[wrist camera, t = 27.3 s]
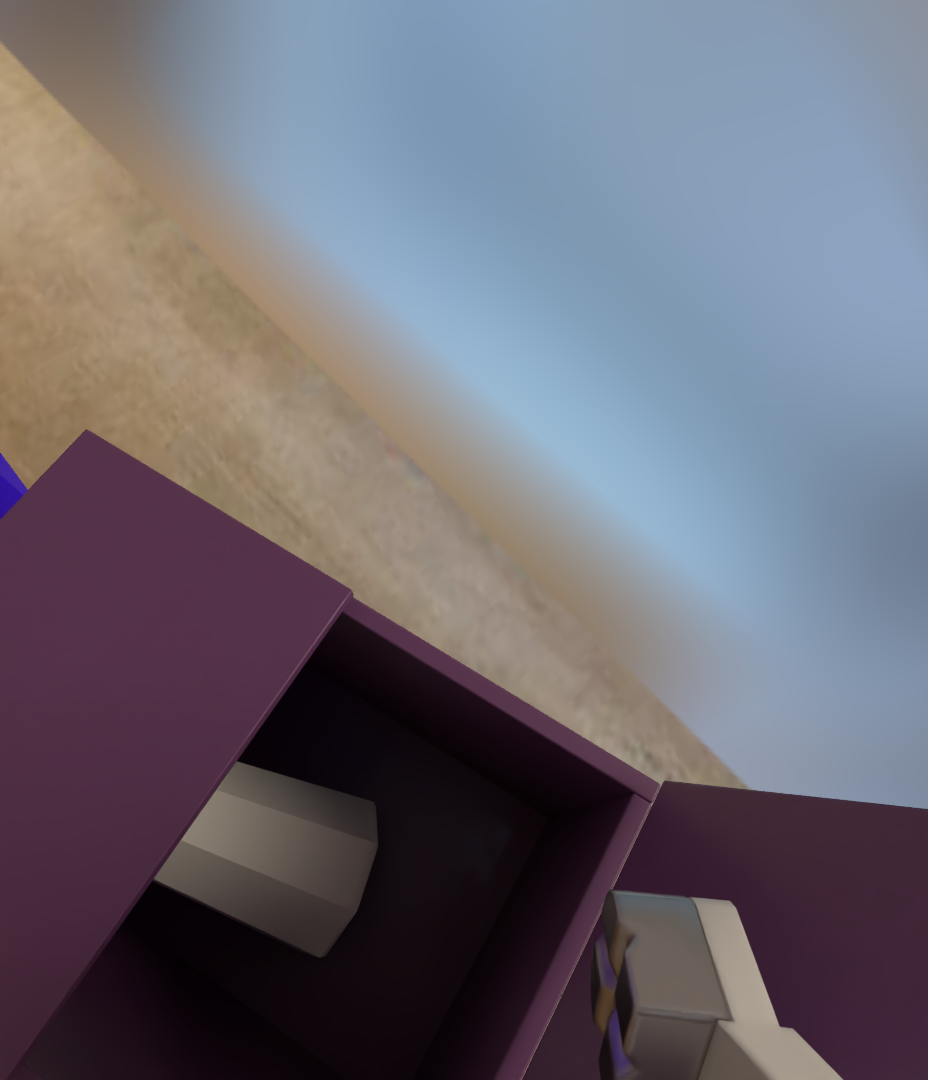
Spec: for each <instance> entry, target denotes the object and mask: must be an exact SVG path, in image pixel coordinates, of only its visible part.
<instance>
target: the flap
mask: <svg viewBox="0 0 928 1080" xmlns="http://www.w3.org/2000/svg"><path fill="white" fill-rule="evenodd" d="M612 890H622V891H633V892H644V893H654V894H665V895H675V896H685V897H687V898H689V897H695V898H706V899H716V900H726V901H730V902H731V903H732V904H733V905H734V906H735V907H736V909H737V912H738V914H739V917H740V920H741V923H742V925H743V928H744V931H745V934H746V936H747V939H748V942H749V944H750V947H751V950H752V953H753V955H754V958H755V961H756V963H757V966H758V969H759V972H760V974H761V977H762V980H763V982H764V985H765V988H766V991H767V993H768V996H769V999H770V1002H771V1004H772V1007H773V1010H774V1012H775V1015H776V1018H777V1021H778V1023H779V1026H780V1027H786V1028H793V1029H794V1030H795V1031H796V1032H797V1033H798V1034H799V1035H800V1036H801V1037H802V1038H803V1039H804V1040H805V1041H806V1042H807V1043H808V1044H809V1045H810V1046H811V1048H812V1049H813V1050H814V1051H815V1052H816V1053H817V1054H818V1055H819V1056H820V1057H821V1058H822V1059H823V1060H824V1061H825V1062H826V1063H827V1064H828V1065H829V1066H830V1067H831V1068H832V1069H833V1070H834V1071H835V1072H836V1073H837V1074H838V1075H839V1076H840V1077H841V1078H842V1079H843V1080H928V809H922V808H912V807H903V806H894V805H885V804H876V803H866V802H856V801H848V800H839V799H829V798H820V797H811V796H801V795H792V794H783V793H774V792H765V791H756V790H746V789H737V788H728V787H719V786H710V785H700V784H691V783H682V782H673V781H664V782H663V784H662V786H661V788H660V790H659V792H658V795H657V797H656V799H655V801H654V803H653V805H652V807H651V809H650V811H649V813H648V816H647V818H646V820H645V822H644V824H643V826H642V828H641V830H640V832H639V835H638V837H637V839H636V841H635V843H634V845H633V847H632V849H631V851H630V853H629V856H628V858H627V860H626V862H625V864H624V866H623V868H622V870H621V872H620V875H619V877H618V879H617V881H616V883H615V885H614V887H613V889H612ZM603 932H604V926H603V919H602V912H601V915H600V917H599V919H598V921H597V923H596V925H595V927H594V929H593V931H592V933H591V936H590V938H589V940H588V942H587V944H586V946H585V948H584V950H583V952H582V955H581V957H580V959H579V961H578V963H577V965H576V967H575V969H574V971H573V973H572V976H571V978H570V980H569V982H568V984H567V986H566V988H565V990H564V992H563V995H562V997H561V999H560V1001H559V1003H558V1005H557V1007H556V1009H555V1011H554V1013H553V1016H552V1018H551V1020H550V1022H549V1024H548V1026H547V1028H546V1030H545V1032H544V1034H543V1037H542V1039H541V1041H540V1043H539V1045H538V1047H537V1049H536V1051H535V1053H534V1056H533V1058H532V1060H531V1062H530V1064H529V1066H528V1068H527V1070H526V1072H525V1074H524V1077H523V1079H522V1080H601V1079H600V1071H599V1064H598V1058H599V1054H600V1050H601V1045H602V1041H603V1037H604V1036H603V1034H602V1033H601V1032H600V1030H599V1029H598V1028H597V1027H596V1025H595V1024H594V1023H593V1015H592V1006H591V992H590V975H591V960H592V954H593V949H594V943H595V938H596V937H598V936H599V935H600V934H602V933H603Z"/></svg>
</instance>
